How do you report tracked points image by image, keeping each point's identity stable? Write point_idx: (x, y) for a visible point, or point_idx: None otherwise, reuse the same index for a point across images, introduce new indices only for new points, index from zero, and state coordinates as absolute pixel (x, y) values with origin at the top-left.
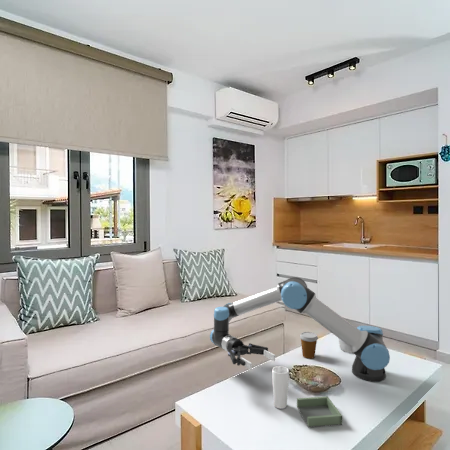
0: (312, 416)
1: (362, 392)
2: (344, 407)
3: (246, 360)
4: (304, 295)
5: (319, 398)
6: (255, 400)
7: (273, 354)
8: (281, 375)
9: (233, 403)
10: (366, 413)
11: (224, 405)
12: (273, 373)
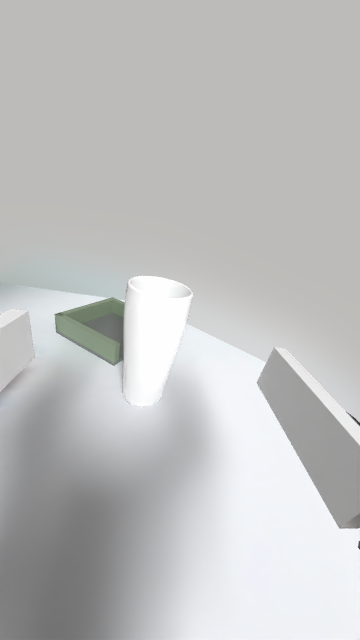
0: None
1: None
2: (47, 315)
3: (316, 389)
4: None
5: (76, 321)
6: (190, 469)
7: (6, 316)
8: (179, 288)
9: (292, 523)
10: (49, 298)
11: (339, 540)
12: (191, 302)
